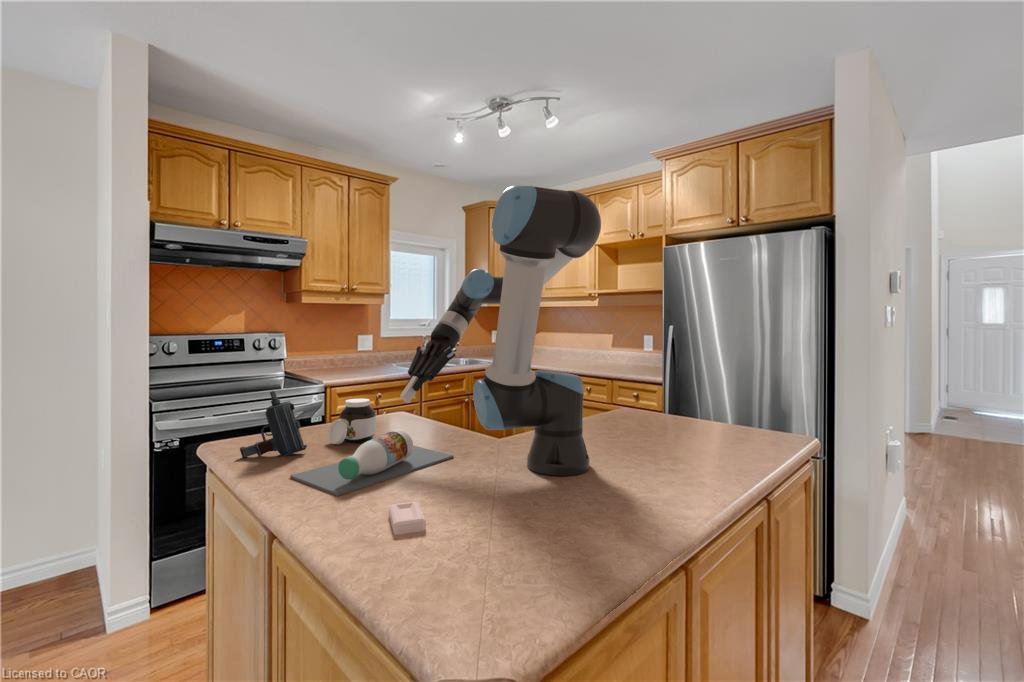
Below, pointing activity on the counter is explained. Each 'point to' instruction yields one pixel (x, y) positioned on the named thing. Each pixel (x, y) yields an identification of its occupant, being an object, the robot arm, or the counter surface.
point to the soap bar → (407, 518)
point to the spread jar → (354, 423)
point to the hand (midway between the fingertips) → (404, 399)
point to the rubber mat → (337, 485)
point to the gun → (278, 431)
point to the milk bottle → (377, 454)
